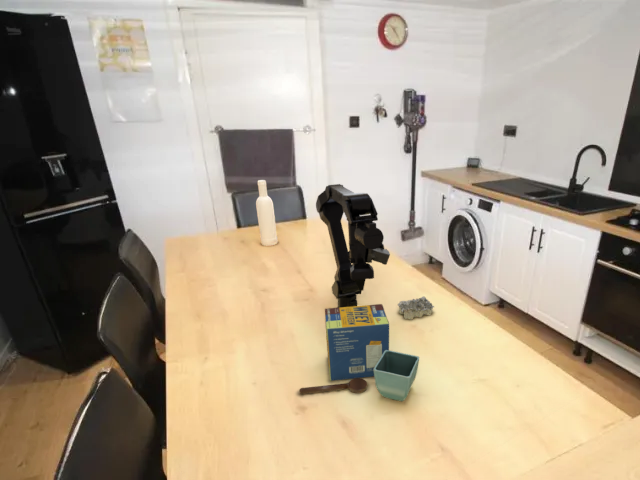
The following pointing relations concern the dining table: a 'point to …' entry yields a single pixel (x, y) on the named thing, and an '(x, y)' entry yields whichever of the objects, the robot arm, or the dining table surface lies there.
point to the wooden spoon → (339, 387)
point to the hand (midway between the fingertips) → (361, 290)
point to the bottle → (266, 216)
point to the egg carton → (415, 308)
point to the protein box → (355, 340)
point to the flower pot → (395, 374)
